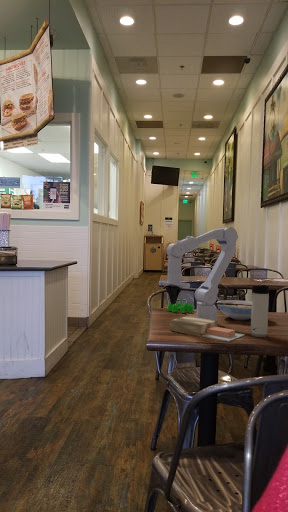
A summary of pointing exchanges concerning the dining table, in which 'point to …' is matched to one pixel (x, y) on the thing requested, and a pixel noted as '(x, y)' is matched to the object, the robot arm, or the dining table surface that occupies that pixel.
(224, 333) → the terracotta brown block
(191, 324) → the board
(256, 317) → the travel mug
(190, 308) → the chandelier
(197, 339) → the dining table surface
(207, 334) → the mat
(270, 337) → the dining table surface
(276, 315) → the dining table surface
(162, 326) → the dining table surface
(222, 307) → the ramen bowl
